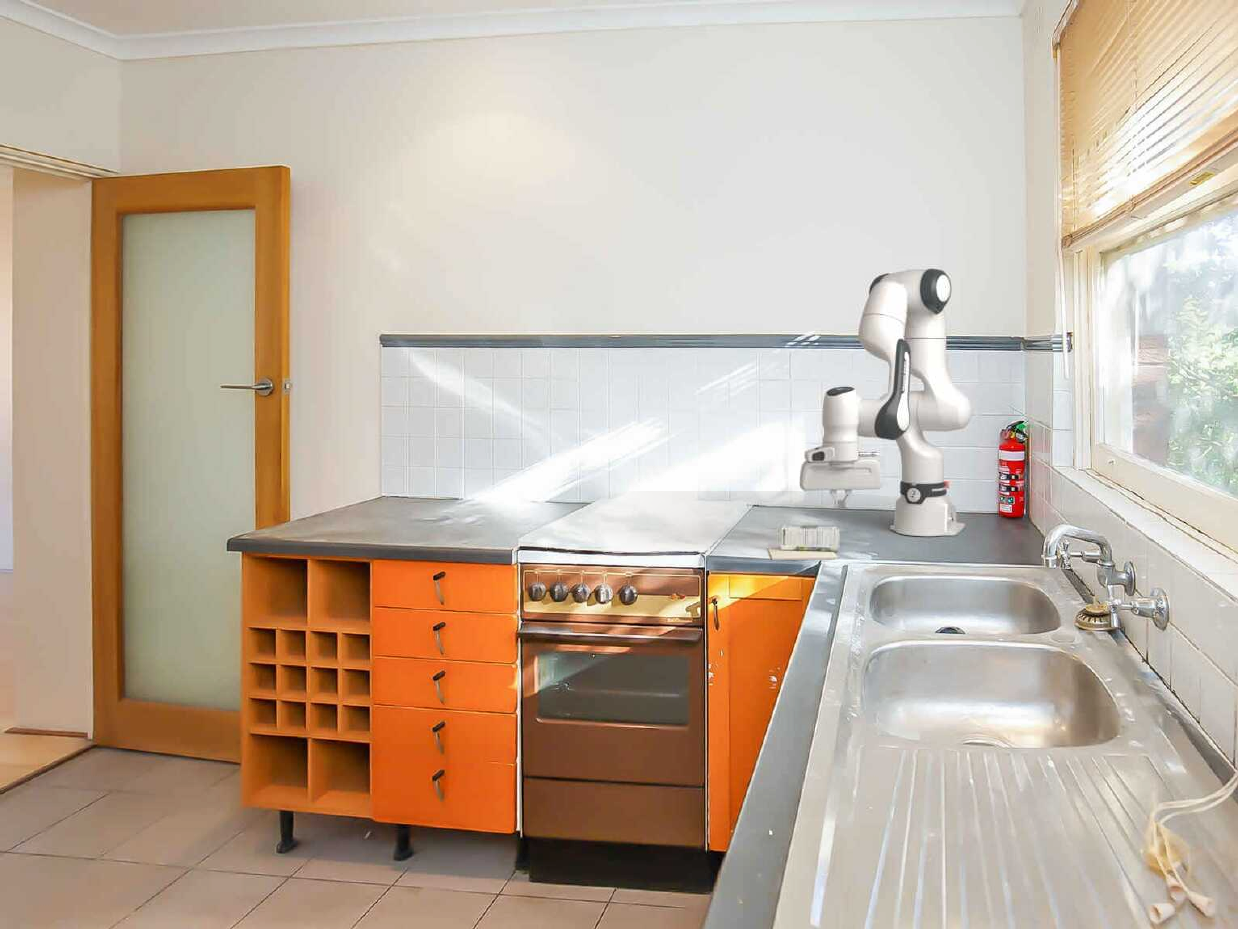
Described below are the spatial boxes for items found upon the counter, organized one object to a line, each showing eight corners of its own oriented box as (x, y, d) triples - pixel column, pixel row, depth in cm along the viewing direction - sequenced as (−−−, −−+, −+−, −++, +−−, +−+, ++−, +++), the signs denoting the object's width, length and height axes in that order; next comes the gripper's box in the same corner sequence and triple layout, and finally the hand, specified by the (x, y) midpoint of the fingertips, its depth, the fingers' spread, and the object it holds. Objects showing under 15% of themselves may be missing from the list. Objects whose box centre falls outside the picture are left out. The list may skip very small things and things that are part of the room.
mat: (830, 548, 274) (830, 546, 273) (838, 559, 260) (838, 557, 260) (767, 548, 274) (767, 547, 274) (772, 559, 261) (772, 558, 261)
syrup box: (839, 548, 272) (782, 547, 275) (839, 525, 271) (782, 524, 275) (838, 551, 266) (780, 550, 270) (838, 528, 266) (779, 527, 269)
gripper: (880, 450, 266) (880, 504, 268) (798, 452, 267) (799, 506, 269) (885, 453, 260) (885, 508, 262) (801, 455, 261) (801, 510, 263)
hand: (840, 507), depth 265 cm, fingers closed
